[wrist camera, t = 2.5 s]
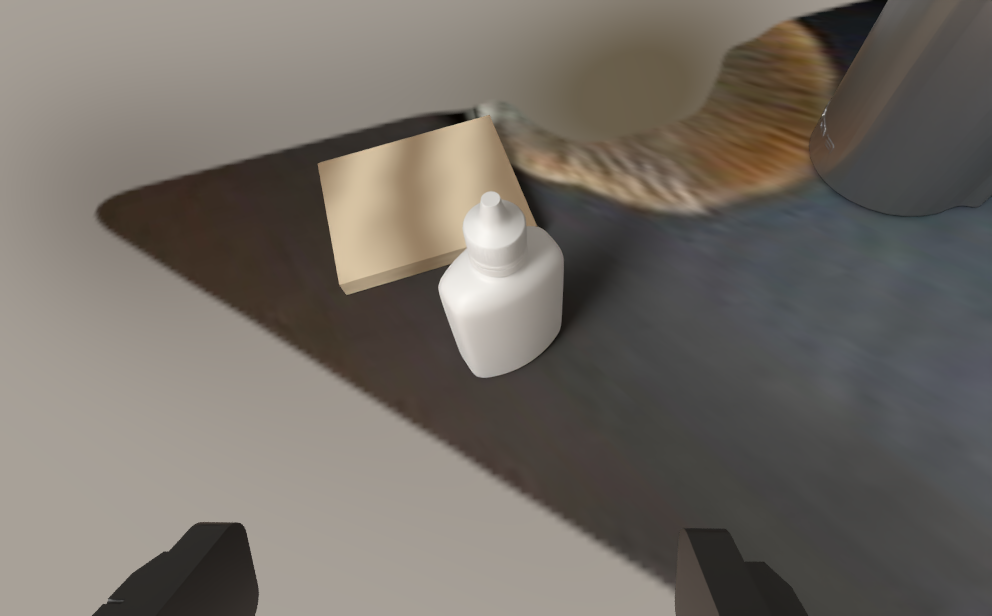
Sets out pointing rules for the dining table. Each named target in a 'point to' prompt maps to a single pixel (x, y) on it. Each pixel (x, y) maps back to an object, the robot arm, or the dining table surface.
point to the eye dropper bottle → (503, 289)
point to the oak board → (412, 201)
